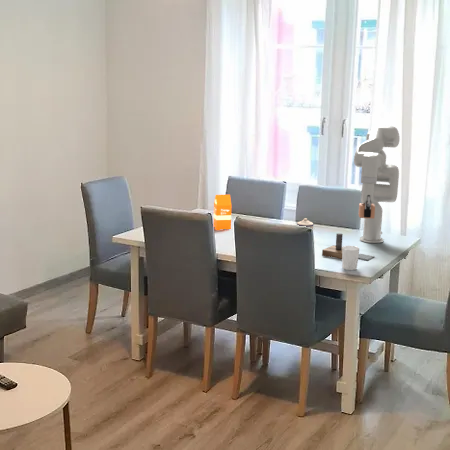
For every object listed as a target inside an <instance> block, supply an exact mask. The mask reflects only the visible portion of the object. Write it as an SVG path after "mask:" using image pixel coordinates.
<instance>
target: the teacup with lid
mask: <svg viewBox="0 0 450 450" xmlns="http://www.w3.org/2000/svg"><path fill="white" fill-rule="evenodd" d="M297 225H299V226H306V227H310V228H312V229H313V230H314V223H313V222H312V221H310V220H308V218H306V217H305V218H303V220H301V221H297V223H296V226H297Z"/></svg>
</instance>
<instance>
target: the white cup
mask: <svg viewBox="0 0 450 450" xmlns="http://www.w3.org/2000/svg"><path fill="white" fill-rule="evenodd" d="M359 254H360V247H358V246H355V245H344V246H343V245H342V259H341V262H342V263H341V264H342V269H343V270H347V271H355V270H357V268H358V263H359V259H358V256H359Z"/></svg>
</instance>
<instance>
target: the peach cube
mask: <svg viewBox="0 0 450 450" xmlns="http://www.w3.org/2000/svg"><path fill="white" fill-rule="evenodd" d="M366 203H367V202H366ZM364 209H365V203H364V204H363V203H362V202H360V203H359V205H358V217H359V218H360V219H364V218H368V217H364ZM374 216H375V205H374V204H371V217H370V218H374Z"/></svg>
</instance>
